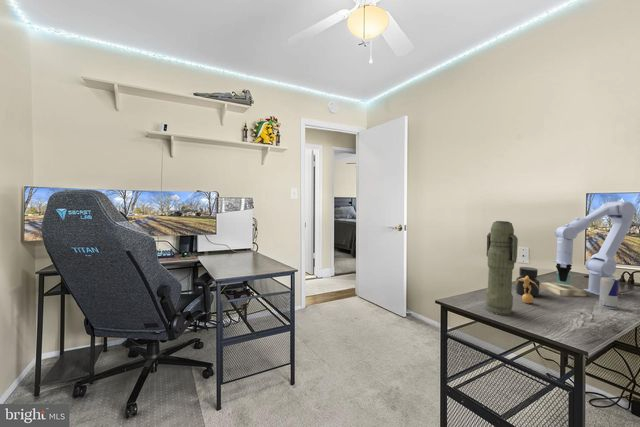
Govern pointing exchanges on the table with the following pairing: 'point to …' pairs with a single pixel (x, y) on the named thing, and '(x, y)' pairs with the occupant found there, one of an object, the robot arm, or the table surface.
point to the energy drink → (609, 292)
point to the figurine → (526, 297)
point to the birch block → (563, 289)
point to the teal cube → (562, 281)
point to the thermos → (500, 267)
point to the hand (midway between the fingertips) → (563, 280)
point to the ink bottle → (532, 276)
